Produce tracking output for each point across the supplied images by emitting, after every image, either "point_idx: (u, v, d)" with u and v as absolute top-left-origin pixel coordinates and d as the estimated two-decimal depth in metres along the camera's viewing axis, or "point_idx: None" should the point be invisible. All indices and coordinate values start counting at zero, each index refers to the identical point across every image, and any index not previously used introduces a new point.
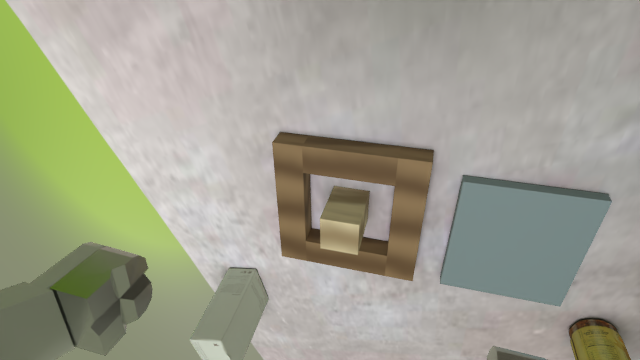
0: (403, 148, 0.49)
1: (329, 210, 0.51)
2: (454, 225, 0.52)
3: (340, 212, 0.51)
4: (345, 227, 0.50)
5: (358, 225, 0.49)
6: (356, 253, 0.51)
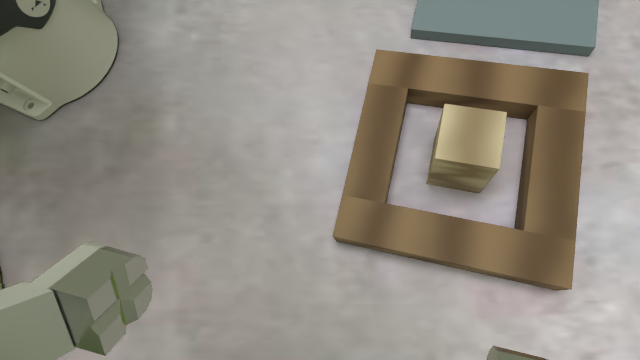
0: None
1: None
2: (478, 34, 0.42)
3: (436, 141, 0.35)
4: (450, 123, 0.33)
5: (445, 105, 0.34)
6: (503, 113, 0.33)
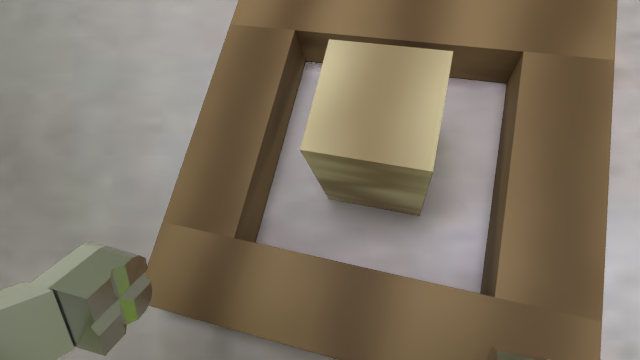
0: None
1: None
2: None
3: None
4: (337, 77, 0.16)
5: (331, 42, 0.17)
6: (446, 54, 0.15)
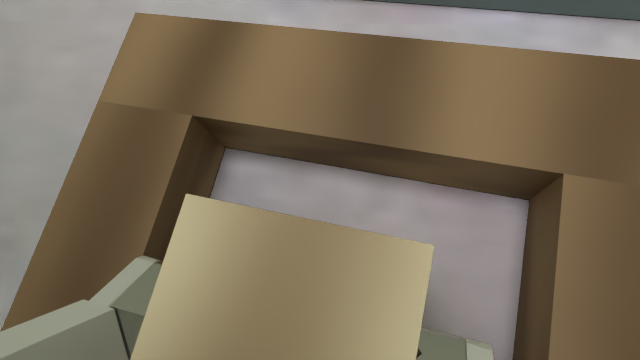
0: None
1: None
2: None
3: None
4: (191, 287, 0.08)
5: (190, 200, 0.08)
6: (419, 251, 0.07)
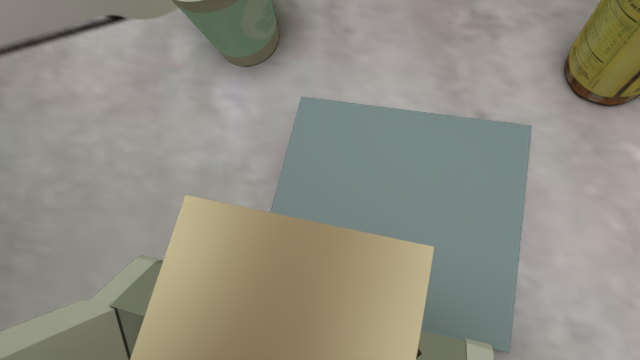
0: None
1: None
2: None
3: None
4: (191, 288, 0.08)
5: (190, 202, 0.08)
6: (419, 253, 0.07)
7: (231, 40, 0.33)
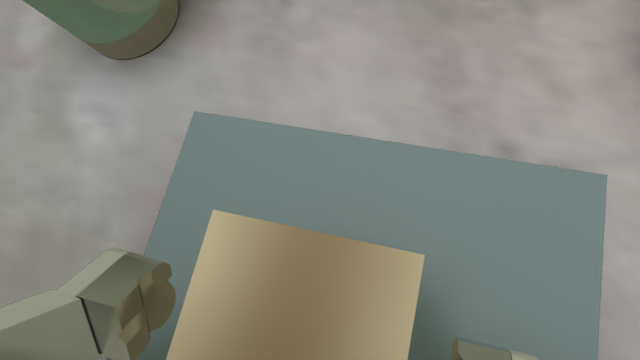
0: None
1: None
2: None
3: None
4: (219, 290, 0.09)
5: (217, 215, 0.10)
6: (412, 260, 0.08)
7: (68, 13, 0.19)
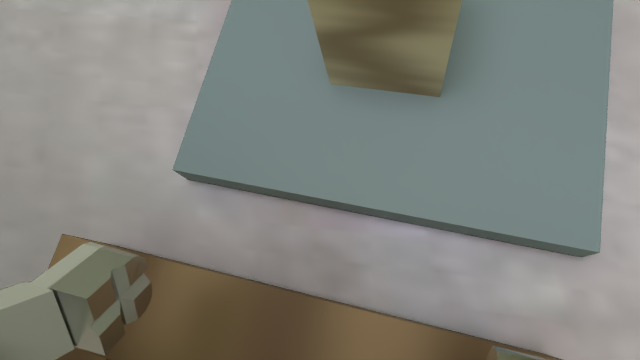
0: None
1: None
2: (313, 193, 0.17)
3: None
4: None
5: None
6: None
7: None
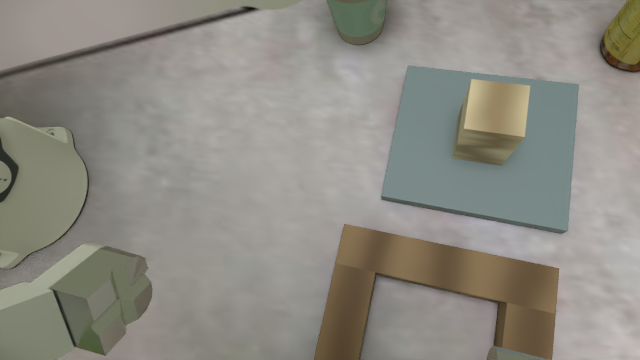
0: None
1: (461, 129, 0.37)
2: (448, 207, 0.41)
3: (463, 115, 0.37)
4: (477, 96, 0.36)
5: (472, 80, 0.36)
6: (527, 86, 0.35)
7: (359, 24, 0.46)
